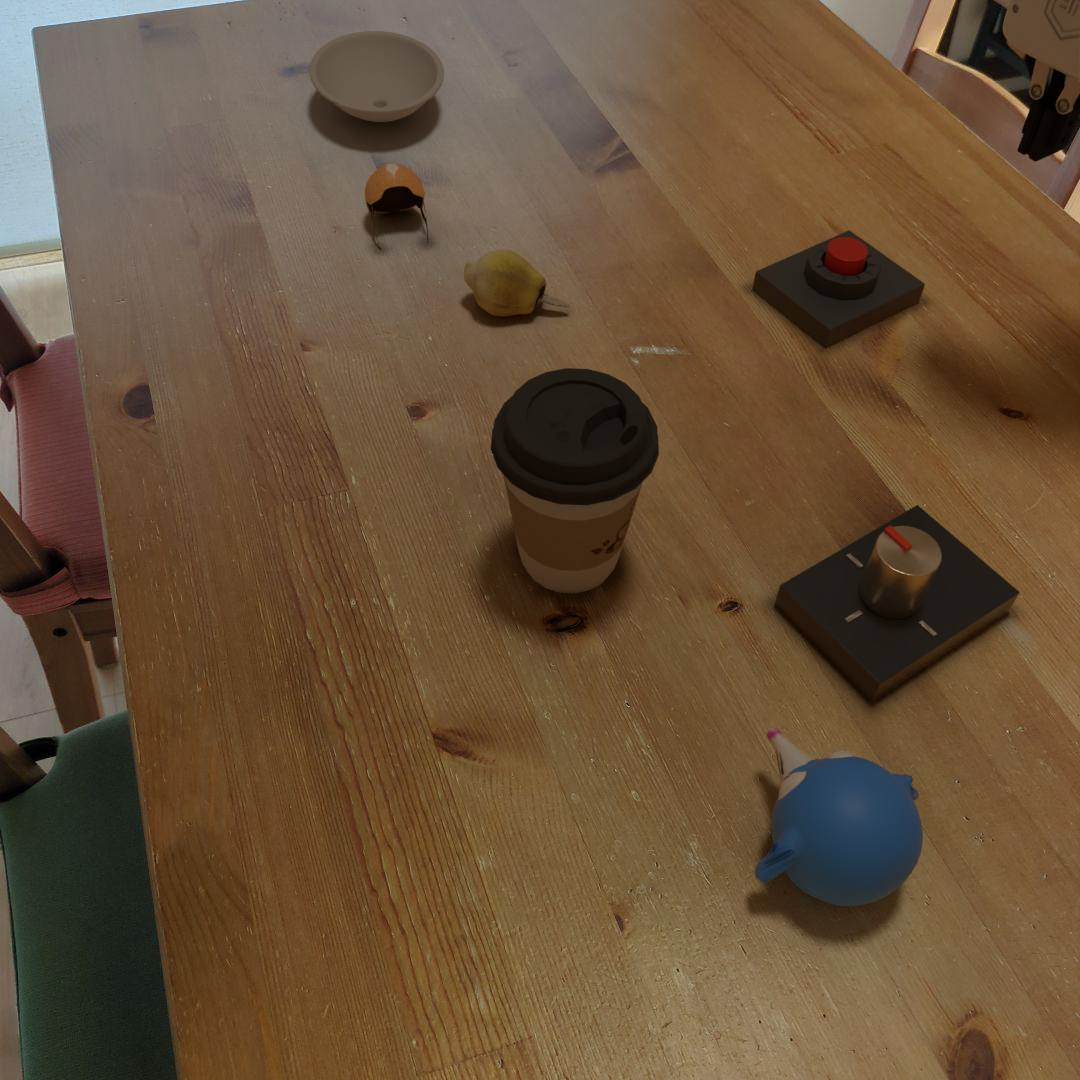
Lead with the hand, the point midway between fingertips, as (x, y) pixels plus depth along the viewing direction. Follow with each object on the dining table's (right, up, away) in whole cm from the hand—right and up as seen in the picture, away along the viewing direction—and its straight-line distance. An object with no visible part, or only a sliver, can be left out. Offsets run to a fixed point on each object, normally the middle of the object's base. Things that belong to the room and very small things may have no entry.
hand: (1039, 151), depth 82 cm
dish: (-55, +19, +42) cm, 72 cm away
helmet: (-51, +2, +29) cm, 59 cm away
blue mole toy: (-20, -48, -12) cm, 53 cm away
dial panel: (-11, -34, -1) cm, 36 cm away
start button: (-9, -4, +20) cm, 22 cm away
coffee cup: (-35, -30, +2) cm, 46 cm away
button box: (-9, -6, +22) cm, 25 cm away
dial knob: (-12, -33, -3) cm, 35 cm away
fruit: (-39, -7, +21) cm, 45 cm away
